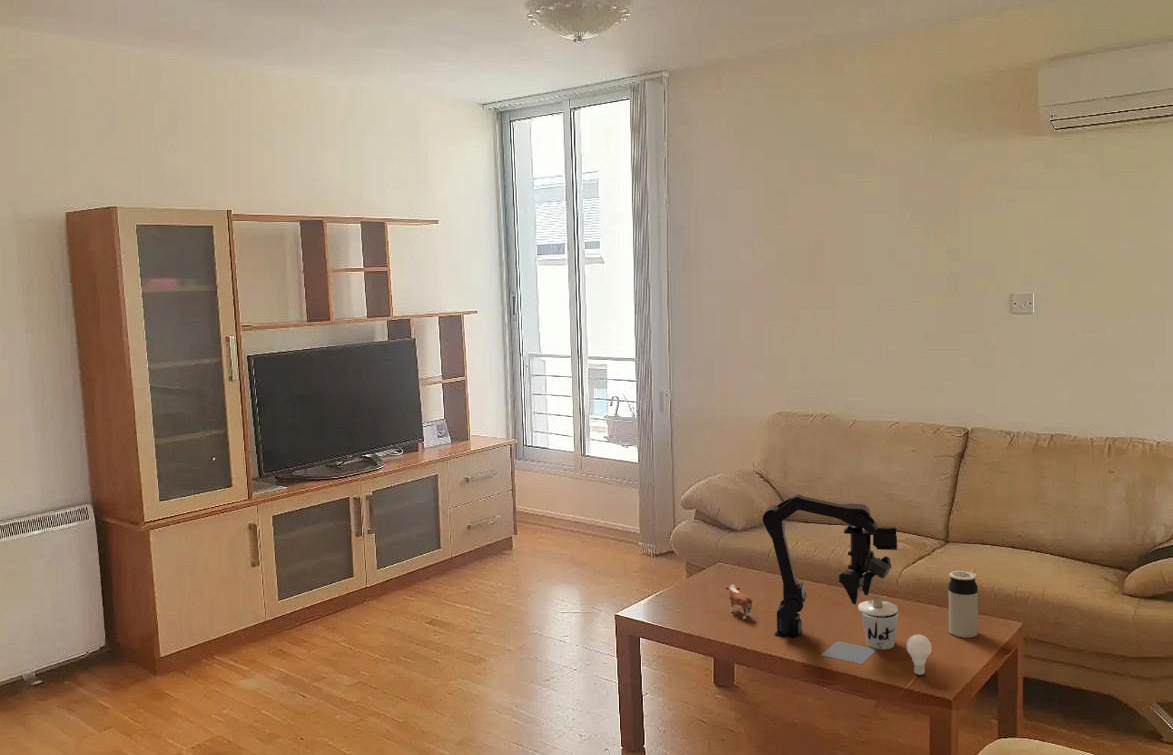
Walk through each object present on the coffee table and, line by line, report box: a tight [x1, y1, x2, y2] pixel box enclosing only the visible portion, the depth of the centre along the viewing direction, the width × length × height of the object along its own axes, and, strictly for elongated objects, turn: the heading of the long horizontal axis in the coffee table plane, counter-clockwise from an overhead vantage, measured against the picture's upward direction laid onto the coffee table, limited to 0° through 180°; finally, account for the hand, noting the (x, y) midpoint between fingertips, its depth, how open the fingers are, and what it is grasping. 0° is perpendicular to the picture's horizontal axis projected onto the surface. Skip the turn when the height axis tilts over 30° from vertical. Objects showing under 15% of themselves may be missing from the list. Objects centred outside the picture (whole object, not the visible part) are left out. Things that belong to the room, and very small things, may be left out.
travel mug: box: [948, 570, 979, 639], centre depth 273 cm, size 8×8×18 cm
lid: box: [857, 595, 899, 616], centre depth 269 cm, size 11×11×4 cm
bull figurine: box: [725, 584, 753, 620], centre depth 298 cm, size 4×13×8 cm, turn 19°
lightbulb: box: [906, 634, 932, 676], centre depth 247 cm, size 6×6×11 cm
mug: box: [860, 611, 900, 650], centre depth 270 cm, size 10×15×10 cm
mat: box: [820, 640, 878, 665], centre depth 263 cm, size 12×12×1 cm
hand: (860, 599), depth 272 cm, fingers open, 9 cm apart
